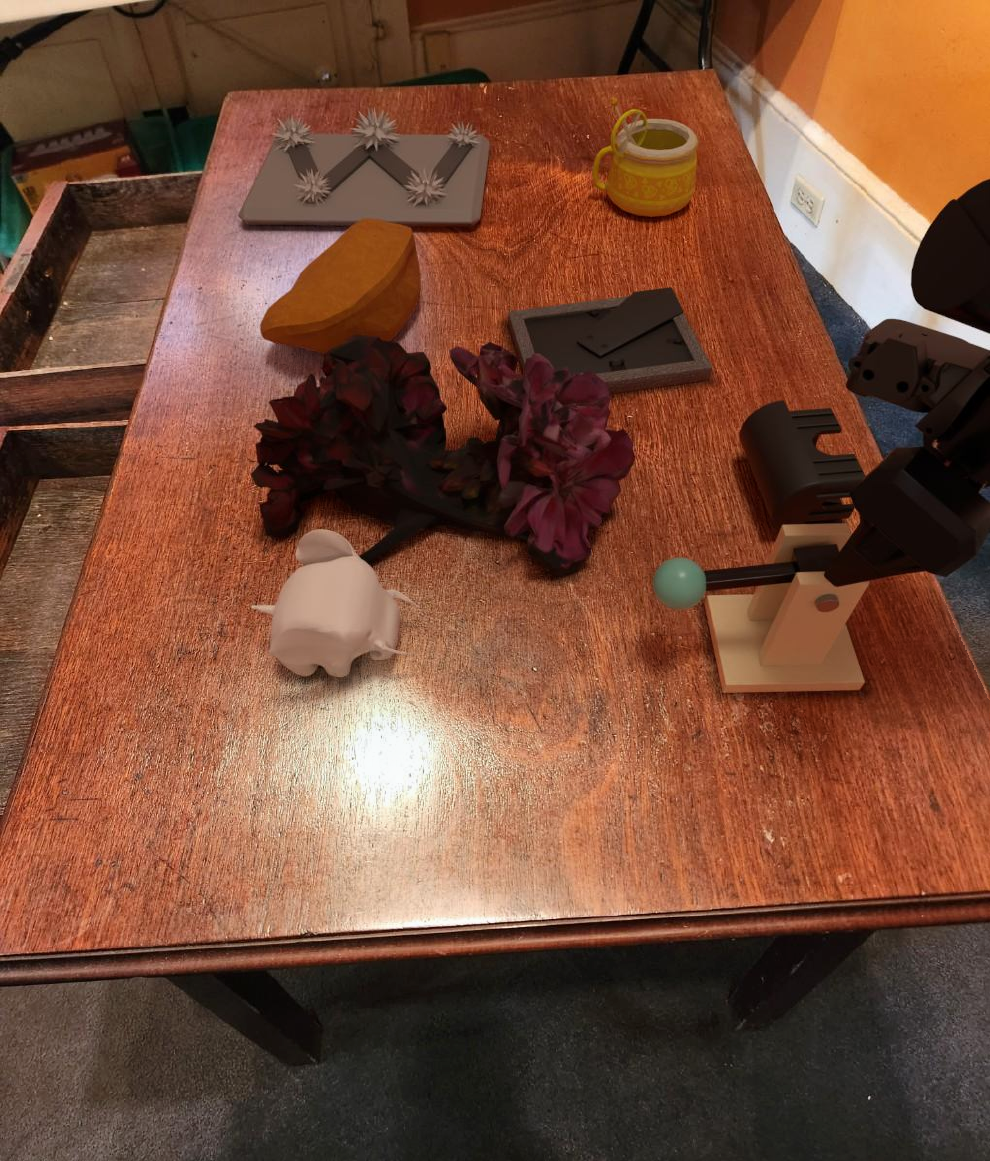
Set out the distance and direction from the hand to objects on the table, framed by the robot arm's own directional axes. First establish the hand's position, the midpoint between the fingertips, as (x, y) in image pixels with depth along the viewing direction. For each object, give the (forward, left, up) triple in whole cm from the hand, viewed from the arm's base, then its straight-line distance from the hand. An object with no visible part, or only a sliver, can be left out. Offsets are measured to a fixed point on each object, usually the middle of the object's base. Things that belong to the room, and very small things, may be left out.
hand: (856, 549), depth 51 cm
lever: (+6, +1, -5) cm, 8 cm away
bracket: (+2, 0, -12) cm, 12 cm away
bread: (+46, -35, -12) cm, 59 cm away
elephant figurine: (+35, +5, -12) cm, 37 cm away
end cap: (+1, -16, -12) cm, 20 cm away
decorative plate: (+51, -64, -12) cm, 82 cm away
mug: (+16, -65, -12) cm, 68 cm away
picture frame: (+18, -34, -12) cm, 40 cm away
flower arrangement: (+30, -12, -12) cm, 34 cm away
